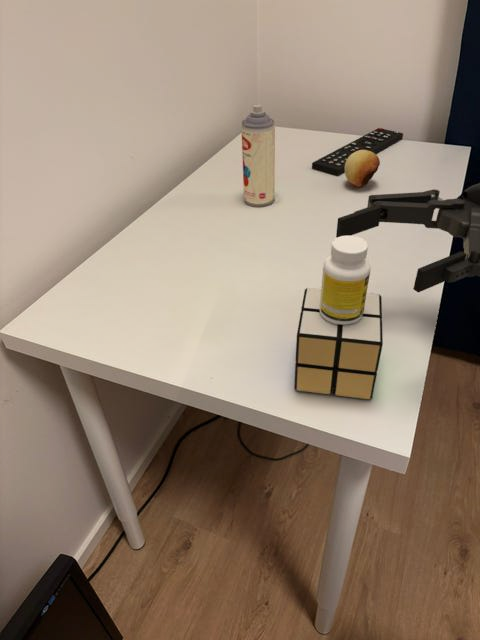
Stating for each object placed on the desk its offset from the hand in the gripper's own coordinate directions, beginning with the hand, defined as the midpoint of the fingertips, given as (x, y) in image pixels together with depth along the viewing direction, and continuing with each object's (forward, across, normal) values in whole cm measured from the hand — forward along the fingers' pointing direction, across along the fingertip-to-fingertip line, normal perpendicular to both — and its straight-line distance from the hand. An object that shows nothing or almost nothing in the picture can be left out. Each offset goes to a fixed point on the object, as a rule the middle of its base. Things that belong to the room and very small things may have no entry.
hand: (374, 252), depth 57 cm
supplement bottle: (+4, 0, +8) cm, 9 cm away
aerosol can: (-14, -51, +18) cm, 56 cm away
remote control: (-51, -60, +18) cm, 80 cm away
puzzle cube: (+4, 0, +18) cm, 18 cm away
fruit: (-38, -44, +18) cm, 61 cm away
